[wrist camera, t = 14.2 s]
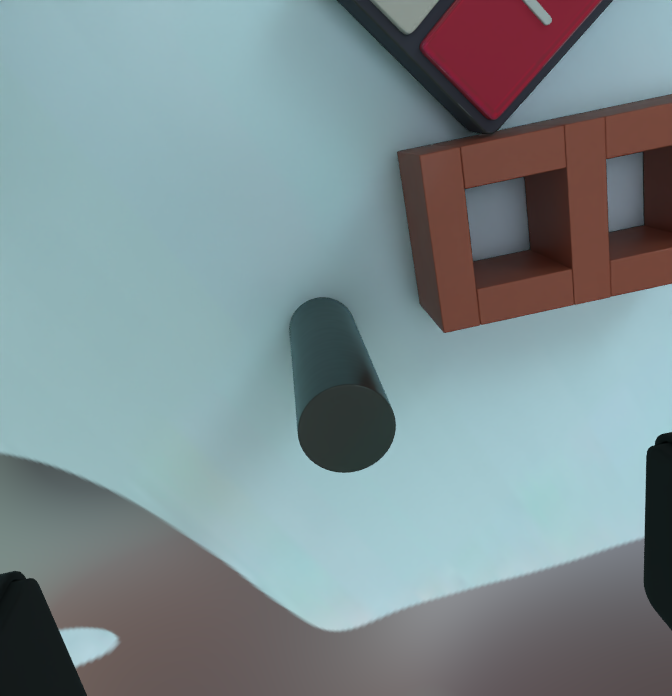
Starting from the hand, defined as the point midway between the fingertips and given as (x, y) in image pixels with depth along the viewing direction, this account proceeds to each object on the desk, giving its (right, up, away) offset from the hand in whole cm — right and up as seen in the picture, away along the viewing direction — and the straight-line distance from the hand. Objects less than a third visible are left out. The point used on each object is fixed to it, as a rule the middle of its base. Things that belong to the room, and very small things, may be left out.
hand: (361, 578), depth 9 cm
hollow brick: (+11, +11, +23) cm, 28 cm away
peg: (-1, +5, +24) cm, 25 cm away
